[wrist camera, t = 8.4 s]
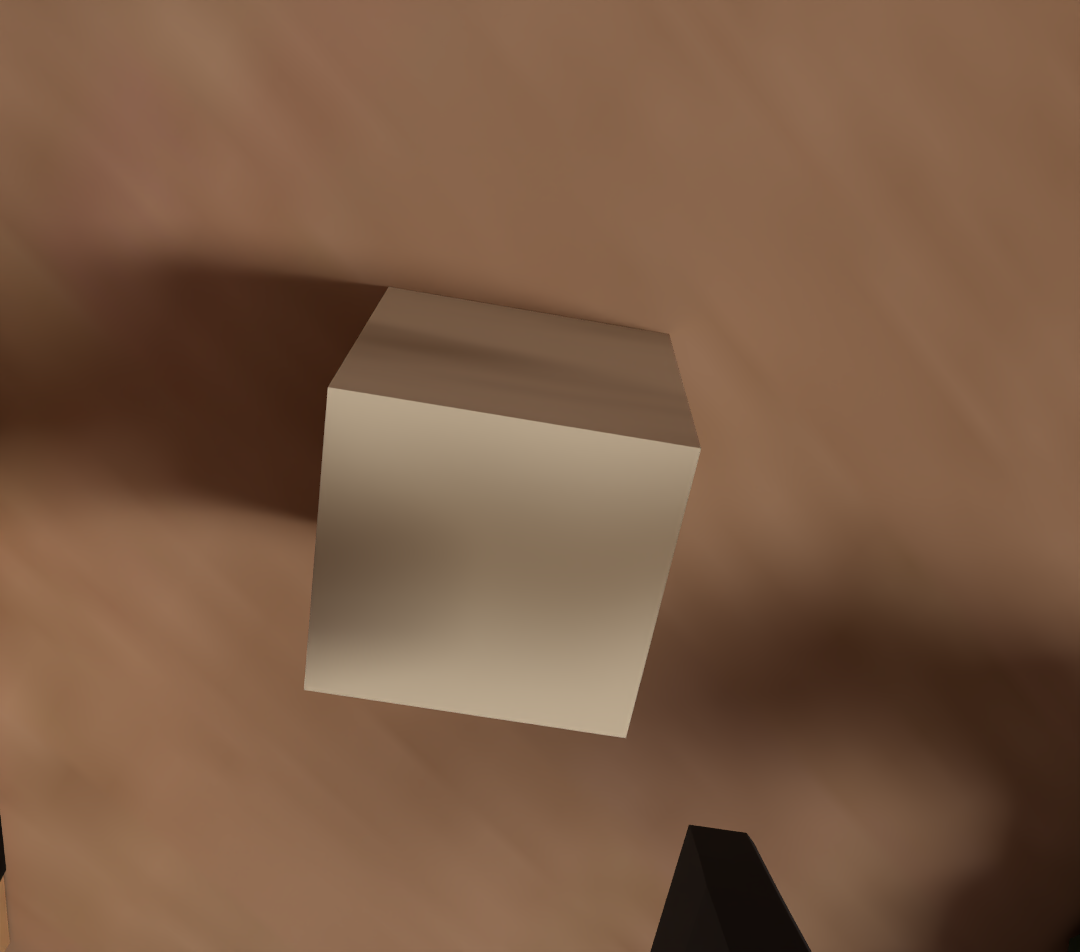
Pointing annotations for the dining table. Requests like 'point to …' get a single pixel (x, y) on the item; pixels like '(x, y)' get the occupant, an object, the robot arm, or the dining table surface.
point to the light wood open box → (3, 919)
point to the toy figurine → (1074, 944)
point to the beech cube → (497, 512)
